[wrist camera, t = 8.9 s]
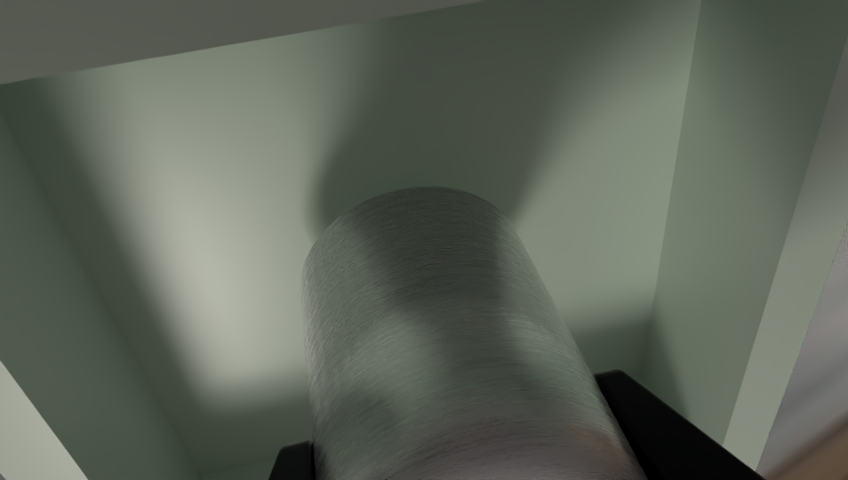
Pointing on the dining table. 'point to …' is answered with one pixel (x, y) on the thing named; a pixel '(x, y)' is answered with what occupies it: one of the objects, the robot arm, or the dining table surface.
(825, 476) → the dining table surface
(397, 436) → the strut
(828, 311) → the dining table surface
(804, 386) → the dining table surface
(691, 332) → the bin
